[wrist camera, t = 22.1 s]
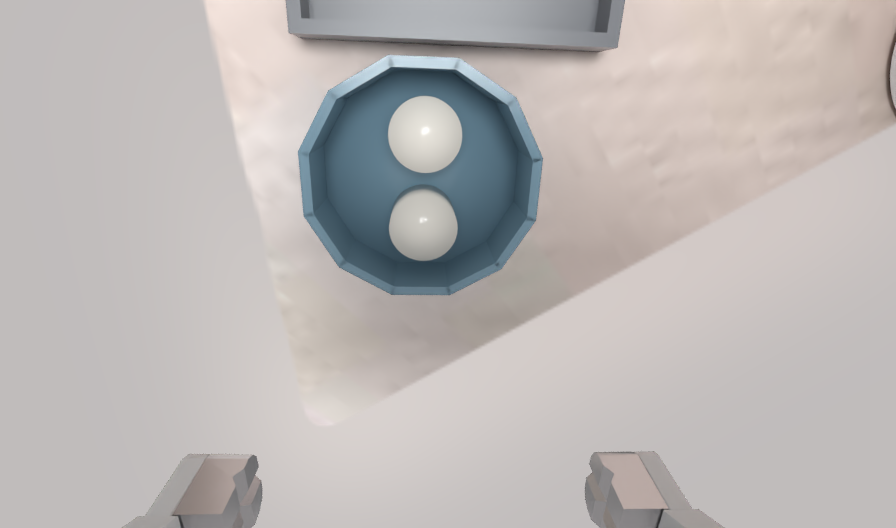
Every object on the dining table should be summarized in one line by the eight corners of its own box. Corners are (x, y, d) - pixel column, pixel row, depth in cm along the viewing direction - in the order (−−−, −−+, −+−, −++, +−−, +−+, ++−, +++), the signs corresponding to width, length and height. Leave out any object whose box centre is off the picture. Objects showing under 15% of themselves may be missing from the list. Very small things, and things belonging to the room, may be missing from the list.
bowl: (531, 66, 30) (554, 61, 25) (512, 265, 36) (527, 295, 30) (312, 56, 29) (288, 50, 24) (326, 263, 35) (310, 294, 30)
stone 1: (459, 97, 30) (464, 98, 26) (456, 165, 31) (459, 174, 28) (391, 93, 29) (387, 94, 26) (391, 163, 31) (388, 171, 28)
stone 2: (454, 184, 32) (458, 195, 29) (453, 244, 34) (456, 260, 30) (391, 183, 32) (388, 194, 28) (392, 244, 33) (389, 260, 30)
